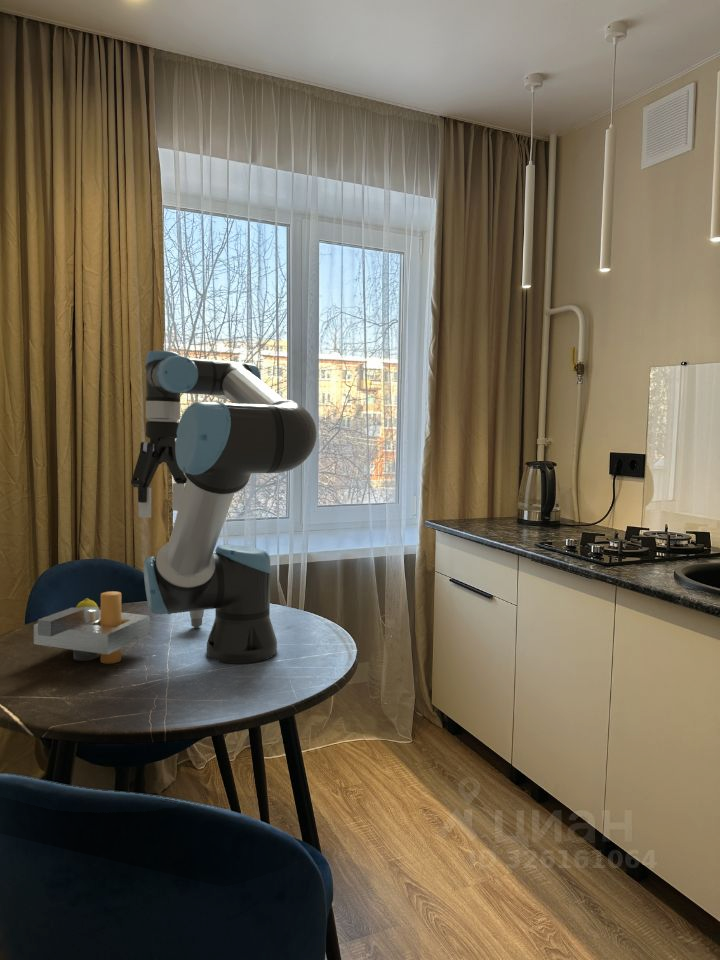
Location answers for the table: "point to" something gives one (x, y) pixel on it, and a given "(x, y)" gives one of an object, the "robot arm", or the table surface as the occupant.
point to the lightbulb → (196, 618)
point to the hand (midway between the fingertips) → (162, 514)
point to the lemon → (87, 603)
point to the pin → (111, 620)
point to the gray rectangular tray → (89, 632)
